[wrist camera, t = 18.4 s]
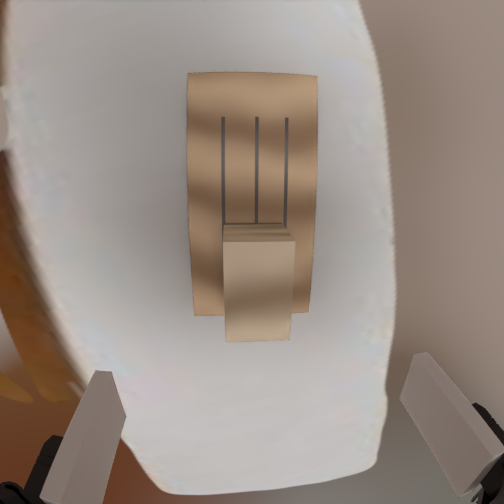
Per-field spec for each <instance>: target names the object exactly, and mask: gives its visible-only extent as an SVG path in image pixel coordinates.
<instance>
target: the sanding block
mask: <svg viewBox="0 0 504 504" xmlns="http://www.w3.org/2000/svg"><path fill="white" fill-rule="evenodd" d="M294 262H295V240H294V239H293V237H292V236H291V235H290V233H289V232H288V231H287V229H286V228H285V227H284V225H283V224H282V223H224V228H223V274H224V308H225V336H226V342H252V341H275V340H290V328H291V313H292V298H293V281H294Z"/></svg>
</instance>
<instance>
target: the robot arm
mask: <svg viewBox="0 0 504 504" xmlns="http://www.w3.org/2000/svg"><path fill="white" fill-rule="evenodd" d="M400 400H401V402H402V403H403V404H404V406H405V408H406V410H407V411H408V413H409V415H410V416H411V418H412V419H413V421H414V423H415V424H416V426H417V428H418V429H419V431H420V433H421V434H422V436H423V437H424V439H425V441H426V442H427V444H428V446H429V447H430V449H431V451H432V453H433V454H434V456H435V458H436V459H437V461H438V463H439V464H440V466H441V468H442V470H443V471H444V473H445V475H446V476H447V478H448V480H449V482H450V483H451V485H452V487H453V489H454V491H455V492H456V494H457V496H458V498H460V497H462V496H464V495H466V494H468V493H470V492H472V491H473V490H474V489H475V488H476V487H477V486H478V485H479V483H481V485H482V488H481V489H480V490H479V492H478V493H477V494H476V495H475V496H474V497H473V498H472V500H471V502H474V501H475V499H476V498H477V497H478V496H479V497H478V501H477V502H476V503H477V504H504V431H503V430H502V429H501V428H500V426H499V425H498V424H496V421H495V420H494V419H493V418H491V415H490V414H489V413H488V411H487V410H486V409H485V408H484V407H482V406H480V405H479V404H477V403H474V404H471V403H470V402H469V401H468V400H467V399H466V397H465V396H464V395H463V394H462V393H461V392H460V390H459V389H458V388H457V386H456V385H455V384H454V383H453V382H452V381H451V379H450V378H449V377H448V376H447V375H446V373H445V372H444V371H443V370H442V369H441V368H440V367H439V365H438V364H437V363H436V362H435V361H434V359H433V358H432V357H431V356H430V355H429V354H428V353H427V352H425V353H420V354H415V355H414V356H413V360H412V363H411V366H410V370H409V372H408V375H407V379H406V382H405V385H404V387H403V390H402V393H401V396H400ZM125 419H126V414H125V411H124V409H123V406H122V403H121V400H120V397H119V394H118V391H117V388H116V384H115V381H114V378H113V375H112V372H108V371H95V373H94V375H93V376H92V378H91V380H90V382H89V385H88V387H87V389H86V391H85V393H84V395H83V397H82V399H81V401H80V403H79V405H78V407H77V409H76V412H75V414H74V416H73V418H72V420H71V422H70V425H69V427H68V429H67V431H66V433H65V436H64V437H60V436H55V435H52V436H51V437H50V438H49V439H48V440H47V441H46V442H45V443H44V445H43V447H42V449H41V451H40V455H39V456H38V458H37V460H36V464H34V467H33V469H32V471H31V474H30V476H29V478H28V480H27V483H26V485H25V487H24V490H23V489H22V487H20V486H19V485H18V484H16V483H13V482H10V481H9V482H3V483H1V484H0V504H102V502H103V498H104V494H105V490H106V486H107V482H108V478H109V475H110V471H111V467H112V464H113V460H114V457H115V452H116V449H117V446H118V442H119V439H120V436H121V432H122V429H123V426H124V422H125Z"/></svg>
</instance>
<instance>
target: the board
mask: <svg viewBox="0 0 504 504" xmlns="http://www.w3.org/2000/svg"><path fill="white" fill-rule="evenodd" d="M317 143H318V81H317V76H311V75H299V74H285V73H264V72H204V73H188V89H187V176H188V211H189V235H190V255H191V272H192V287H193V301H194V313H195V316H220V315H225V308H224V274H223V228H224V223H282V224H283V225H284V227H285V228H286V229H287V231H288V232H289V233H290V235H291V236H292V237H293V239H294V240H295V262H294V281H293V298H292V313H305V312H309V302H310V290H311V277H312V263H313V247H314V230H315V209H316V184H317Z"/></svg>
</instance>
